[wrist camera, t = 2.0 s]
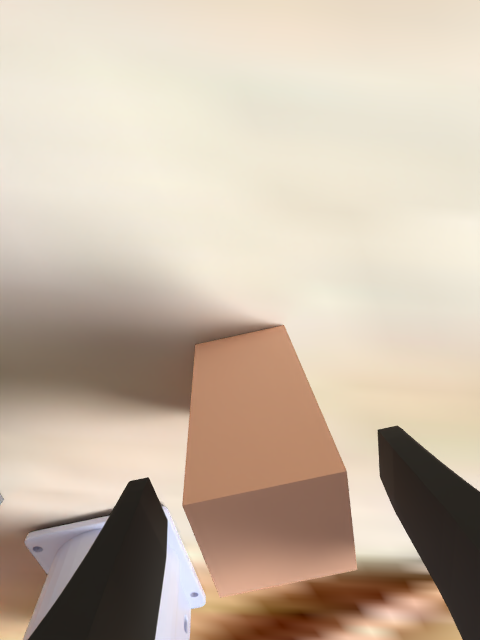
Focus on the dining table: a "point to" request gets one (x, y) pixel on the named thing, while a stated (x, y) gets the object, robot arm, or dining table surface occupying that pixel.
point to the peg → (263, 468)
